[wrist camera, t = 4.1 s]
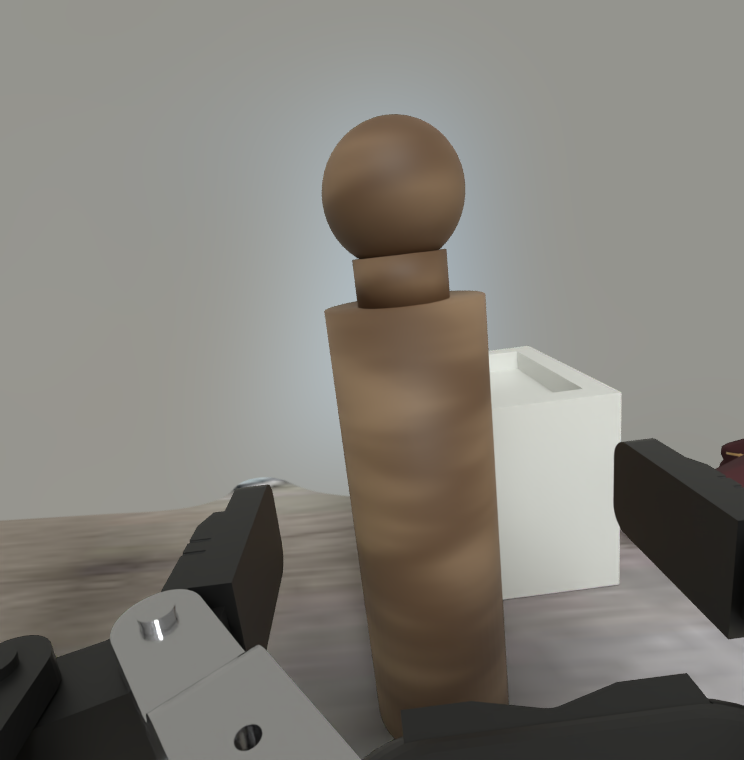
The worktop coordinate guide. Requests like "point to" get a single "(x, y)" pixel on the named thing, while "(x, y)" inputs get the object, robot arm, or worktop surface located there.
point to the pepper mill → (416, 421)
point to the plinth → (553, 474)
